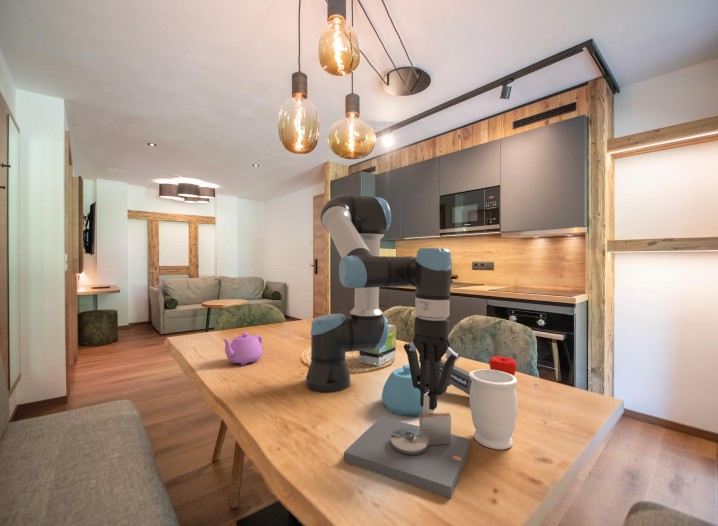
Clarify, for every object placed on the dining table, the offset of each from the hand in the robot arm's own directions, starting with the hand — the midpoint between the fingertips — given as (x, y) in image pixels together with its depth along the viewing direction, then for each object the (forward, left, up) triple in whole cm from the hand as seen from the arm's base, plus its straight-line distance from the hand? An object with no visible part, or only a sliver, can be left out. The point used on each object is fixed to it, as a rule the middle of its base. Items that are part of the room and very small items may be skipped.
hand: (428, 421), depth 73 cm
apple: (+10, +54, -6) cm, 56 cm away
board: (-3, -5, -6) cm, 8 cm away
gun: (-2, +35, -6) cm, 35 cm away
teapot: (-87, +24, -6) cm, 90 cm away
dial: (-1, -3, -3) cm, 5 cm away
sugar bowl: (-12, +18, -6) cm, 22 cm away
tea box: (-39, +54, -6) cm, 67 cm away
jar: (+12, +10, -6) cm, 17 cm away
